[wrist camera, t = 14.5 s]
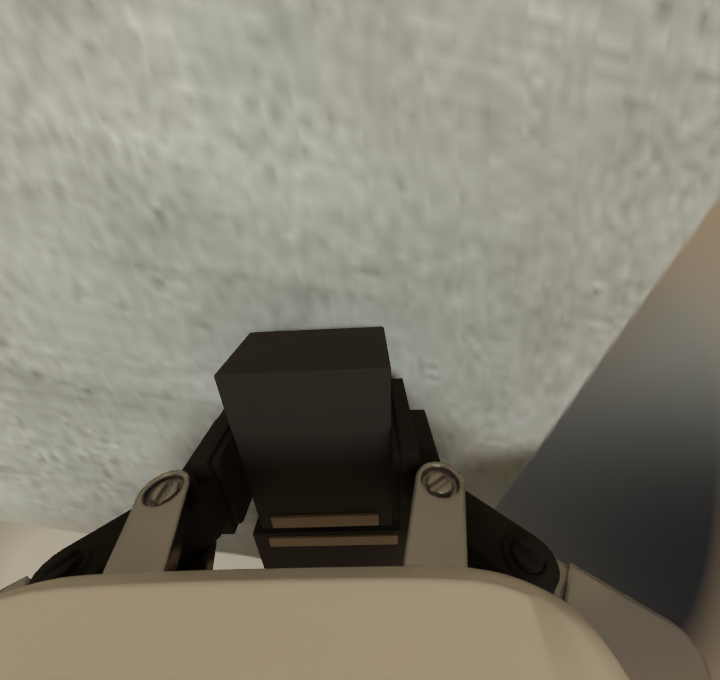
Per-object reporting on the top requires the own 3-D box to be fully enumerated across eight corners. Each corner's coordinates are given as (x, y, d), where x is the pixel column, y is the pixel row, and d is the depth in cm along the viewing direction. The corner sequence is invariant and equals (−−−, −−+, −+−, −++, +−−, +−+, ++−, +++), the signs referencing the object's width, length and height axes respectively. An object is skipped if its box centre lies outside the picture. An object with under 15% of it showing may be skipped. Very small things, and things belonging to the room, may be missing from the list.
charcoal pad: (289, 542, 18) (275, 606, 15) (271, 474, 15) (251, 536, 12) (402, 540, 18) (410, 604, 15) (404, 471, 15) (414, 533, 12)
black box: (281, 465, 14) (261, 531, 11) (250, 331, 11) (210, 377, 8) (385, 461, 14) (392, 528, 11) (383, 326, 11) (391, 370, 8)
